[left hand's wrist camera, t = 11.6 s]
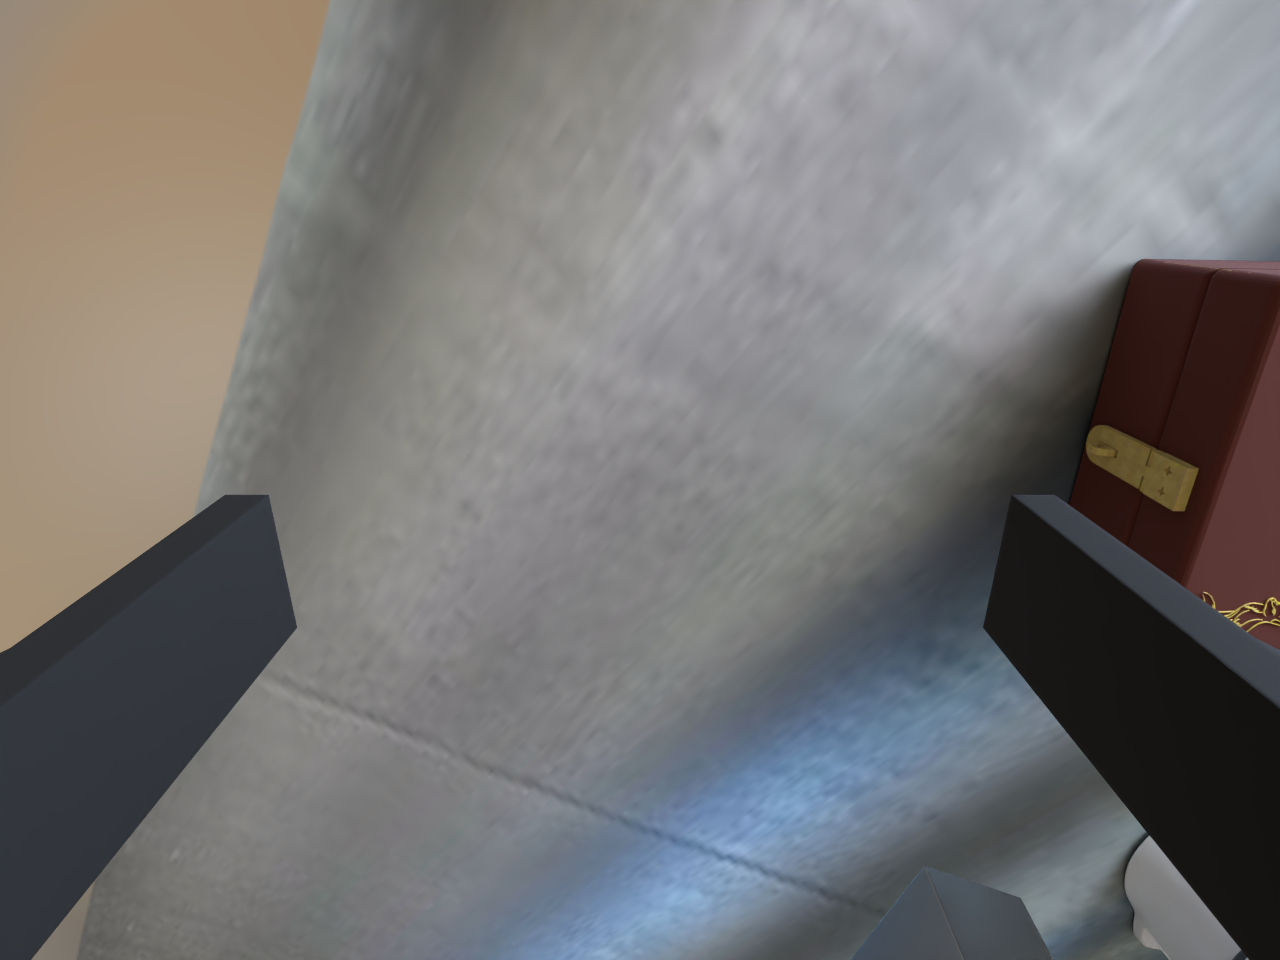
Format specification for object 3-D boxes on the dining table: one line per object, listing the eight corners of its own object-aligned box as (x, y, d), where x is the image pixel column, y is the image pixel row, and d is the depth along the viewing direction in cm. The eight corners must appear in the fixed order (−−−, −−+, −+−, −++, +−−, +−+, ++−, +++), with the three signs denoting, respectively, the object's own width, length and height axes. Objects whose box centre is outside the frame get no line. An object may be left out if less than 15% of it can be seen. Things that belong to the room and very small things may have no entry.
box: (1110, 258, 40) (1254, 276, 30) (1400, 263, 40) (1633, 283, 30) (1027, 582, 47) (1121, 675, 38) (1269, 586, 47) (1423, 680, 38)
